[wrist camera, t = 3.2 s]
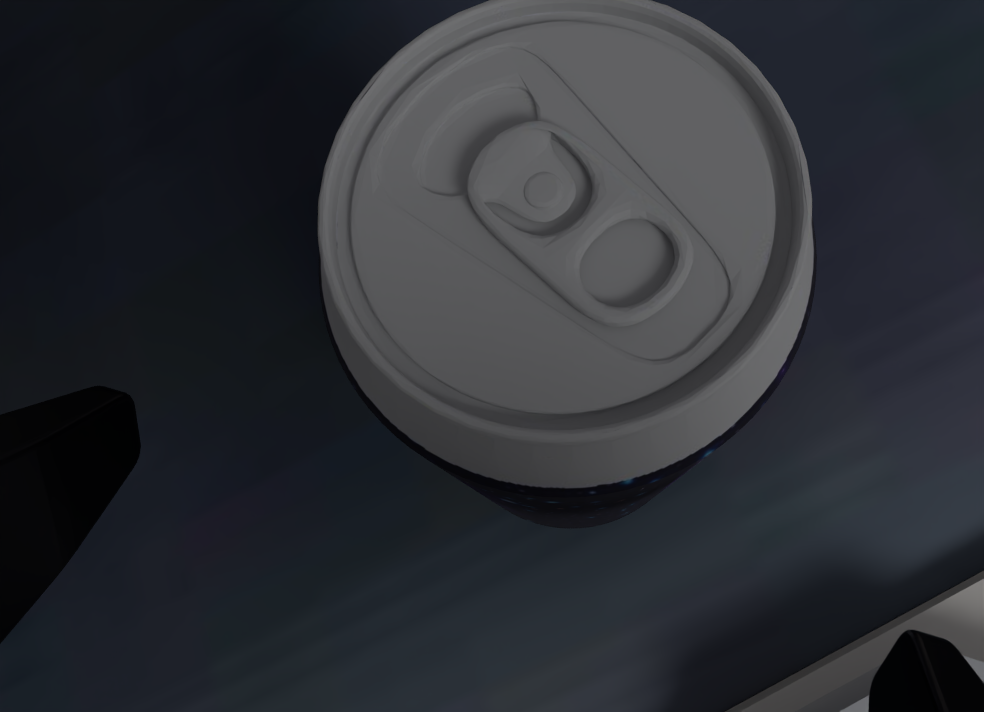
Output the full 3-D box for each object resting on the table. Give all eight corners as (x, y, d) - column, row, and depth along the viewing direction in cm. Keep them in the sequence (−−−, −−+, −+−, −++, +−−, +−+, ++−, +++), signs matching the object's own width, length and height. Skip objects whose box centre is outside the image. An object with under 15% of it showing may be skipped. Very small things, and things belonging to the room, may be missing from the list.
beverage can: (565, 258, 20) (549, -136, 9) (736, 408, 19) (986, 177, 7) (408, 414, 20) (169, 213, 8) (573, 581, 18) (565, 625, 7)
